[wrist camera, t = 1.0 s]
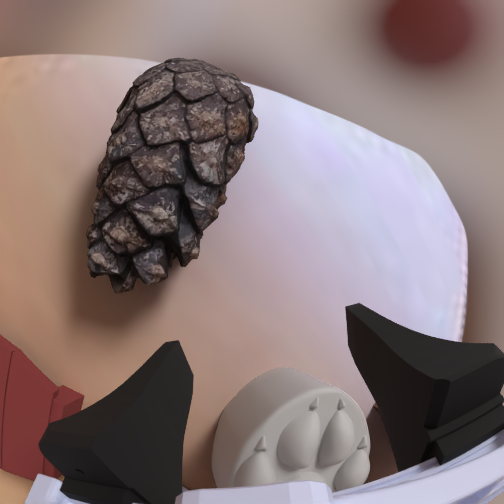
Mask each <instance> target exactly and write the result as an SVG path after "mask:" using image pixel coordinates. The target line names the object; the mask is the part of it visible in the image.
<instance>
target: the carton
mask: <svg viewBox="0 0 504 504" xmlns="http://www.w3.org/2000/svg"><path fill="white" fill-rule="evenodd" d="M83 399H84V395H82V394H80V393H78V392H76V391H74V390H72V389H70V388H68V387H66V386H64V385H63V386H60V387H57V386H56V385H55V384H54V383H53V382H52V381H51V380H50V379H48V378H47V377H46V376H45V375H44V374H43V373H42V372H41V371H40V370H39V369H38V368H37V367H36V366H35V365H34V364H33V363H32V362H31V361H30V360H29V358H28V357H27V356H26V355H25V354H24V353H23V352H22V351H21V350H20V349H19V348H17V347H16V346H15V345H13V344H12V343H11V342H9V341H8V340H7V339H5V338H4V337H3V336H1V335H0V468H1V469H2V470H4V471H7V472H10V473H13V474H15V475H18V476H21V477H24V478H27V479H31V480H34V481H35V479H36V477H37V475H38V474H43V475H46V476H49V477H53V478H56V479H57V478H58V477H59V476H60V475H61V473H60V472H59V471H58V470H57V469H56V468H55V467H54V466H53V465H52V464H51V463H50V462H49V461H48V460H47V459H46V458H45V457H44V455H43V454H42V453H41V451H40V449H39V445H38V443H39V441H40V439H41V437H42V436H43V434H44V432H45V430H46V428H47V427H48V425H49V423H51V422H55V421H57V420H60V419H63V418H66V417H68V416H71V415H73V414H75V413H77V412H80V411H81V408H82V403H83Z"/></svg>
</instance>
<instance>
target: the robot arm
mask: <svg viewBox="0 0 504 504" xmlns="http://www.w3.org/2000/svg"><path fill="white" fill-rule="evenodd" d="M345 308H346V320H347V334H348V346H349V349H350V351H351V354H352V357H353V359H354V362H355V364H356V366H357V368H358V370H359V372H360V374H361V375H362V377H363V379H364V381H365V383H366V385H367V386H368V388H369V390H370V392H371V394H372V396H373V398H374V400H375V402H376V404H377V406H378V408H379V411H380V414H381V416H382V419H383V422H384V425H385V428H386V431H387V434H388V437H389V440H390V443H391V446H392V450H393V453H394V457H395V460H396V464H397V468H398V473H395V474H393V475H390V476H387V477H384V478H381V479H378V480H375V481H372V482H369V483H366V484H363V485H359V486H356V487H352V488H349V489H345V490H341V491H337V492H333V493H332V491H331V489H330V488H329V487H328V486H327V485H326V483H323V482H319V481H313V480H297V481H286V482H280V483H273V484H265V485H256V486H246V487H234V488H214V489H196V490H188V489H186V488H185V487H183V486H182V456H183V441H184V434H185V429H186V424H187V419H188V414H189V410H190V405H191V400H192V394H193V373H192V371H191V368H190V366H189V364H188V362H187V359H186V357H185V355H184V352H183V350H182V347H181V345H180V342H179V340H177V341H170V342H165V343H164V344H163V345H162V346H161V347H160V348H159V349H158V350H157V351H156V352H155V353H154V354H153V355H152V356H151V357H150V358H149V359H148V360H147V361H146V362H145V363H144V364H143V365H142V366H141V367H140V368H139V369H138V370H137V371H136V372H135V373H134V374H133V375H132V376H131V377H130V378H129V379H127V380H126V381H125V382H124V383H123V384H122V385H121V386H119V387H118V388H117V389H115V390H114V391H113V392H111V393H110V394H109V395H107V396H106V397H104V398H103V399H101V400H99V401H98V402H96V403H95V404H93V405H91V406H89V407H88V408H86V409H84V410H82V411H80V412H77V413H75V414H73V415H71V416H68V417H66V418H63V419H60V420H57V421H55V422H51V423H49V425H48V427H47V428H46V430H45V432H44V434H43V436H42V437H41V439H40V441H39V443H38V445H39V449H40V451H41V453H42V454H43V455H44V457H45V458H46V459H47V460H48V461H49V462H50V463H51V464H52V465H53V466H54V467H55V468H56V469H57V470H58V471H59V472H60V473H61V474H62V475H64V476H65V478H64V481H63V482H62V481H60V480H58V479H56V478H53V477H49V476H46V475H43V474H38V475H37V477H36V479H35V481H34V483H33V485H32V488H31V490H30V492H29V494H28V496H27V499H26V501H25V503H24V504H486V503H488V502H489V501H491V500H492V499H494V498H495V497H496V496H498V495H499V494H500V493H502V492H503V491H504V406H503V405H502V403H503V402H504V398H503V396H502V395H501V394H500V391H501V389H502V386H503V384H504V353H503V352H502V351H501V350H500V349H499V348H498V347H497V346H496V345H495V344H493V343H490V344H489V343H463V342H455V341H449V340H444V339H440V338H435V337H431V336H428V335H425V334H422V333H419V332H416V331H413V330H410V329H408V328H406V327H403V326H401V325H399V324H397V323H395V322H393V321H391V320H389V319H387V318H385V317H383V316H381V315H379V314H378V313H376V312H374V311H372V310H371V309H369V308H367V307H365V306H364V305H362V304H360V303H358V304H354V305H350V306H346V307H345Z"/></svg>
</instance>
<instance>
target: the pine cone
mask: <svg viewBox="0 0 504 504" xmlns="http://www.w3.org/2000/svg"><path fill="white" fill-rule="evenodd" d="M253 106H254V98H253V94H252V92H251V89H250V87H248V86H245V85H243V84H242V83H241V82H240V80H239V79H238V77H237V76H236V75H234V74H233V73H230V72H228V71H224V70H222V69H220V68H219V67H217V66H214V65H211V64H208V63H206V62H205V61H203V60H197V59H192V60H191V59H184V58H174V59H168V60H166V61H165V62H164V63H161V64H159V65H156V66H154V67H151V68H149V69H148V70H147V71H145V72H144V73H143V74H142V75H140V76H139V77H138V78H137V79H136V80H135V81H134V82H133V86H132V87H131V88H130V89H129V91H128V92H127V94H126V96H125V98H124V100H123V102H122V103H121V105H120V106H119V107H118V109H117V113H118V115H117V119H116V121H115V123H114V124H113V126H112V128H111V133H112V135H111V136H110V138H109V140H108V142H107V150H106V156H105V157H104V159H103V161H102V162H101V164H100V165H99V167H98V172H99V175H98V179H97V185H96V186H97V188H98V190H99V192H98V194H97V198H96V200H95V202H94V204H93V206H92V209H91V210H92V213H93V215H94V223H93V224H92V225H91V226H89V227H88V230H87V233H86V236H87V239H88V243H87V247H88V248H89V249H90V250H89V252H88V268H89V269H90V275H91V277H94V278H95V277H96V276H101V275H105V274H106V275H109V278H110V281H111V284H112V287H113V290H114V292H115V293H117V294H118V293H121V292H125V291H131V290H133V287H134V284H135V282H136V280H137V278H140V279H141V280H142V281H143V282H144V283H145V284H147V285H152V284H156V283H158V282H161V281H162V280H164V279H166V278H168V272H167V270H168V269H169V268H171V267H172V260H173V259H174V258H176V257H177V258H178V259H179V262H180V265H181V267H186V266H187V265H188V263H189V262H190V261H191V260H192V259H198V256H199V252H200V239H201V238H202V236H203V230H205V229H206V228H207V227H208V226H209V225H210V224H211V223H212V222H213V221H215V220H216V219H217V218H218V215H219V212H218V210H217V209H218V208H219V207H220V206H221V205H223V204H225V202H226V199H227V197H226V196H225V192H226V185H227V183H228V182H229V181H230V180H231V178H233V177H234V175H235V174H236V173H237V172H238V170H239V169H240V166H241V164H242V162H243V161H244V159H245V155H244V154H245V153H244V151H245V145H246V143H249V142H251V141H252V140H253V138H254V134H255V132H256V130H257V129H258V118H257V117H256V116H255V115H254V114H253V111H252V109H253Z"/></svg>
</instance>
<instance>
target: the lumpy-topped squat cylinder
mask: <svg viewBox="0 0 504 504" xmlns="http://www.w3.org/2000/svg"><path fill="white" fill-rule="evenodd" d="M369 452H370V437H369V431H368V426H367V422H366V419H365V416H364V414H363V412H362V410H361V408H360V407H359V405H358V404H357V403H356V402H355V401H354V399H353V398H352V397H351V396H350V395H348V394H347V393H346V392H344V391H343V390H341V389H339V388H336V387H335V386H332V385H330V384H328V383H326V382H324V381H322V380H320V379H318V378H316V377H314V376H312V375H310V374H307V373H305V372H303V371H301V370H299V369H296V368H291V367H282V368H277V369H273V370H271V371H268V372H266V373H264V374H262V375H260V376H258V377H257V378H255V379H253V380H252V381H251V382H249V383H248V384H247V385H246V386H245V387H244V388H243V389H242V390H241V391H240V392H239V393H238V394H237V395H236V396H235V397H234V398H233V399H232V400H231V401H230V402H229V404H228V405H227V406H226V407H225V409H224V410H223V412H222V414H221V417H220V420H219V423H218V426H217V430H216V434H215V438H214V443H213V450H212V462H211V467H212V472H213V476H214V479H215V483H216V486H217V488H234V487H246V486H256V485H265V484H273V483H280V482H286V481H297V480H313V481H319V482H323V483H326V485H327V486H328V487H329V488H330V489H331V491H332V493H333V492H337V491H341V490H345V489H349V488H352V487H356V486H359V485H363V483H364V482H365V481H366V479H367V477H368V474H369V471H370V462H369V459H368V457H369Z"/></svg>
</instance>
